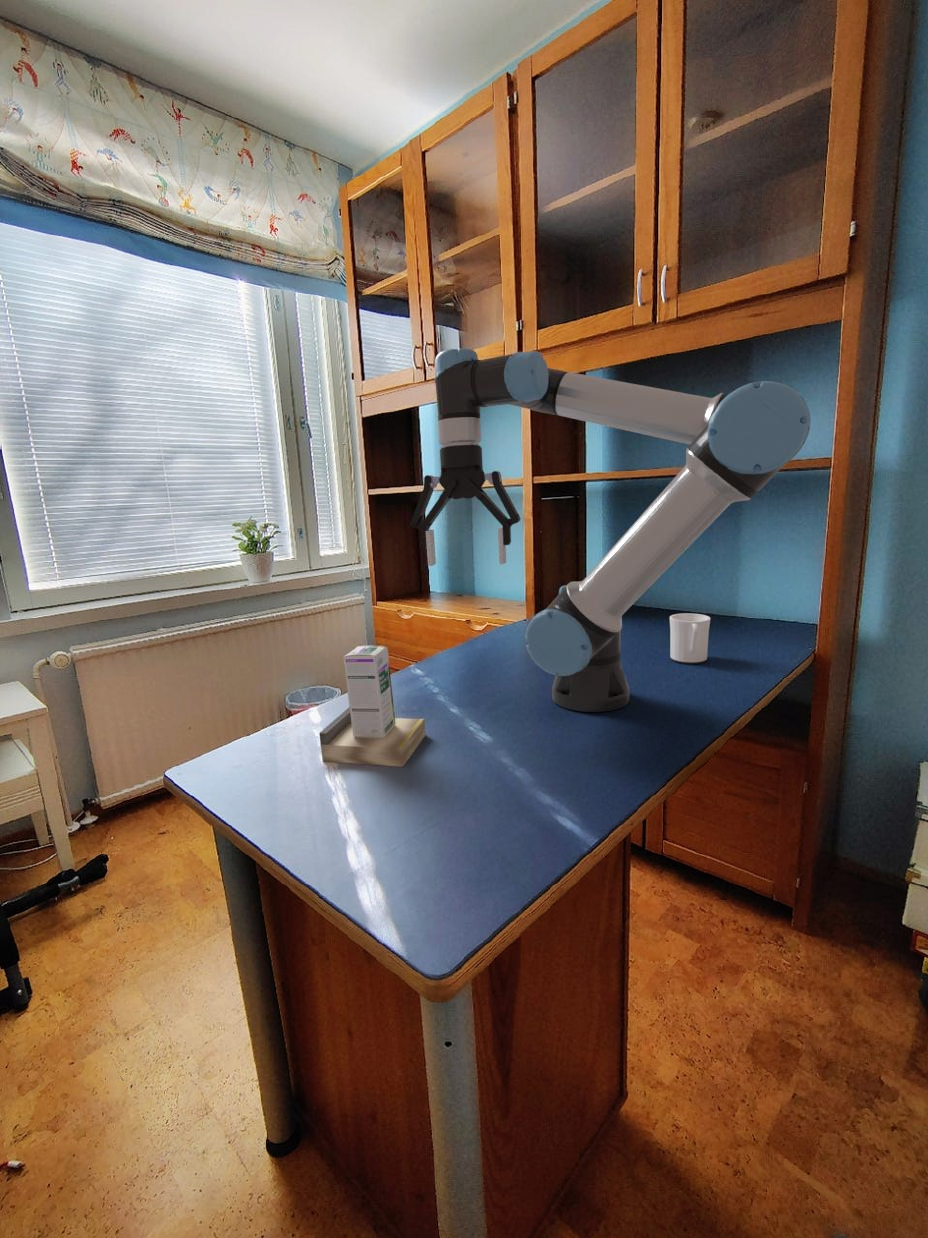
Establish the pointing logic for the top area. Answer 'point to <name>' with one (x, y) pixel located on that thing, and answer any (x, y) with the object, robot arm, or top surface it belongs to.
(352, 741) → the dock
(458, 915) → the top surface
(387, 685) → the syrup box
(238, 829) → the top surface
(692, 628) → the mug
